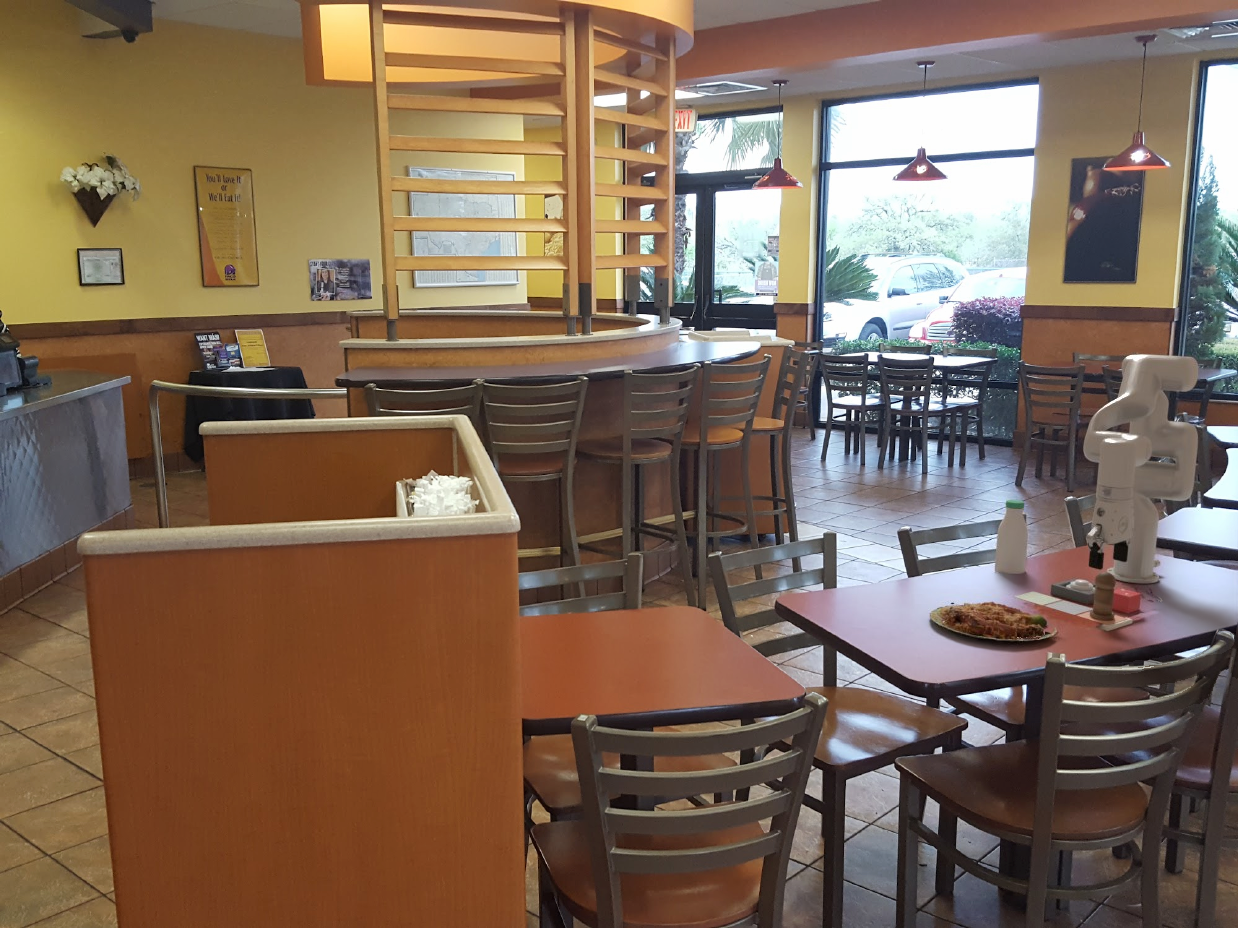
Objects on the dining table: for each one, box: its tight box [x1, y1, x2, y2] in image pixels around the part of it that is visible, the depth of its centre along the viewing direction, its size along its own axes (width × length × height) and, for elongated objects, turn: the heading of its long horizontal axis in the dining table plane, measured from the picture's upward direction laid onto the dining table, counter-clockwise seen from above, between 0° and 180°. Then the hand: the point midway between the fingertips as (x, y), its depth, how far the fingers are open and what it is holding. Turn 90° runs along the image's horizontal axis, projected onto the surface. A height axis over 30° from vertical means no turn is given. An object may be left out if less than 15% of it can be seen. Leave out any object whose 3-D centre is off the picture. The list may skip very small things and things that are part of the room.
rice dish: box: [929, 601, 1058, 642], centre depth 242 cm, size 28×28×5 cm
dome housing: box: [1050, 577, 1096, 605], centre depth 263 cm, size 10×10×4 cm
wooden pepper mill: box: [1089, 571, 1117, 621], centre depth 246 cm, size 5×5×11 cm
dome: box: [1066, 579, 1095, 593], centre depth 263 cm, size 7×7×3 cm
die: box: [1112, 587, 1142, 618], centre depth 253 cm, size 5×5×5 cm
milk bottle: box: [994, 499, 1029, 575], centre depth 284 cm, size 8×8×20 cm
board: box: [1013, 591, 1134, 632], centre depth 254 cm, size 10×26×1 cm, turn 34°
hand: (1107, 564), depth 245 cm, fingers open, 9 cm apart
